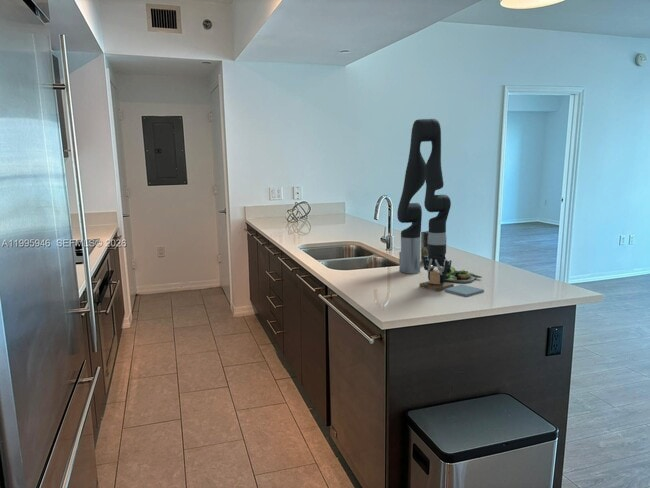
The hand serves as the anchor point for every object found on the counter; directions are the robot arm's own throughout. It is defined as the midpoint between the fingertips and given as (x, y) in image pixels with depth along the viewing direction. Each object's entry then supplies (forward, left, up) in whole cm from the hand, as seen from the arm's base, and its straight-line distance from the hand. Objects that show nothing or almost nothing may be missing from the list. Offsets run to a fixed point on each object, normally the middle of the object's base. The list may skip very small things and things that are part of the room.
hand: (436, 281), depth 201 cm
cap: (0, 0, 0) cm, 0 cm away
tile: (+12, +3, -2) cm, 13 cm away
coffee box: (-35, +35, -3) cm, 50 cm away
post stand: (0, 0, -2) cm, 2 cm away
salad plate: (-5, +18, -3) cm, 19 cm away
